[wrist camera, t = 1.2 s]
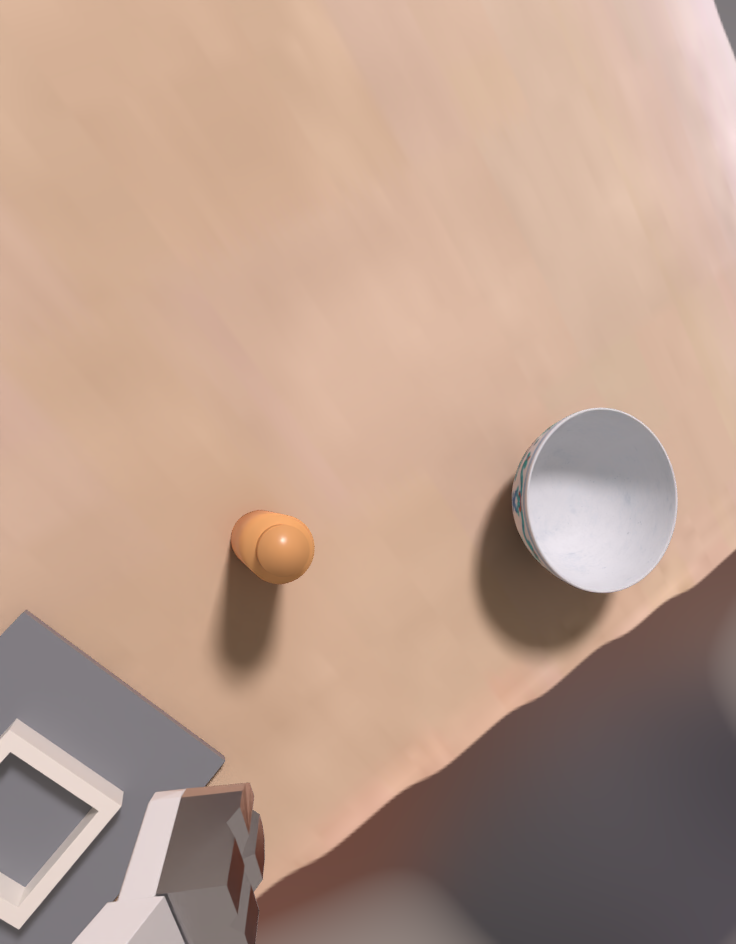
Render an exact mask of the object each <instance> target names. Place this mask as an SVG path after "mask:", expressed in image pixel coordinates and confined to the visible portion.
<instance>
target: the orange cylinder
mask: <svg viewBox="0 0 736 944" xmlns="http://www.w3.org/2000/svg"><path fill="white" fill-rule="evenodd" d="M231 545H232V549H233V551H234V553H235V555H236V556H237V557H238V558H239V559H240V560H241V561H242V562H243V563H244V564H245V565H246V566H247V567H248V568H249V569H250V570H251V571H252V572H254V573H255V574H256V575H257V576H258V577H259V578H261V579H262V580H264V581H266V582H269V583H273V584H285V583H289V582H292V581H294V580H296V579H298V578H299V577H300V576H302V575H303V574H304V573H305V572H306V571H307V569H308V568H309V566H310V564H311V562H312V560H313V556H314V540H313V537H312V534H311V532H310V531H309V529H308V528H307V526H306V525H305V524H304V523H303V522H301V521H300V520H298V519H297V518H294V517H292V516H288V515H283V514H278V513H274V512H269V511H263V510H257V511H252V512H249V513H247V514H245V515H244V516H242V517H241V518H240V519H239V520H238V521H237V522H236V524H235V526H234V528H233V530H232V533H231Z"/></svg>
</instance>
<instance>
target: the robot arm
mask: <svg viewBox="0 0 736 944" xmlns="http://www.w3.org/2000/svg"><path fill="white" fill-rule="evenodd" d="M253 802H254V794H253V791H252V788H251V785H250V783H240V784H229V785H219V786H208V787H198V788H187V789H178V790H170V791H161V792H155V794H154V795H153V797H152V798H151V800H150V801H149V803H148V806H147V809H146V812H145V815H144V818H143V821H142V825H141V828H140V831H139V834H138V837H137V840H136V843H135V846H134V850H133V853H132V856H131V859H130V862H129V865H128V868H127V871H126V875H125V878H124V881H123V884H122V887H121V890H120V893H119V896H118V900H117V901H114V902H108V903H106V905H105V906H104V907H103V908H102V909H101V910H100V912H99V913H98V914H97V915H96V916H95V917H94V918H93V920H92V921H91V922H90V923H89V924H88V925H87V926H86V928H85V929H84V930H83V931H82V932H81V933H80V935H79V936H78V937H77V938H76V939H75V940H74V941H73V943H72V944H255V942H256V933H257V925H258V916H259V908H258V905H257V902H256V899H255V896H254V891H255V890H256V888H257V887H258V885H259V884H260V882H261V881H262V880H263V871H264V860H265V850H264V832H263V825H262V821H261V818H260V814H258V813H257V812H255V811H254V810H252V809H253Z"/></svg>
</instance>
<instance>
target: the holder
mask: <svg viewBox="0 0 736 944" xmlns="http://www.w3.org/2000/svg"><path fill="white" fill-rule="evenodd" d="M224 762H225V757H224V756H223V755H222V754H221V753H219V752H218V751H217V750H215V749H214V748H212V747H211V746H210V745H208V744H207V743H206V742H204V741H203V740H202V739H200V738H199V737H198V736H196V735H195V734H194V733H192V732H191V731H190V730H188V729H187V728H185V727H184V726H183V725H181V724H180V723H179V722H177V721H176V720H175V719H173V718H172V717H171V716H169V715H168V714H167V713H165V712H164V711H163V710H161V709H160V708H158V707H157V706H156V705H154V704H153V703H152V702H150V701H149V700H148V699H146V698H145V697H144V696H142V695H141V694H140V693H138V692H137V691H136V690H134V689H133V688H131V687H130V686H129V685H127V684H126V683H125V682H123V681H122V680H121V679H119V678H118V677H117V676H115V675H114V674H113V673H111V672H110V671H109V670H107V669H106V668H104V667H103V666H102V665H100V664H99V663H98V662H96V661H95V660H94V659H92V658H91V657H90V656H88V655H87V654H86V653H84V652H83V651H82V650H80V649H79V648H77V647H76V646H75V645H73V644H72V643H71V642H69V641H68V640H67V639H65V638H64V637H63V636H61V635H60V634H59V633H57V632H56V631H55V630H53V629H52V628H50V627H49V626H48V625H46V624H45V623H44V622H42V621H41V620H40V619H38V618H37V617H36V616H34V615H33V614H32V613H30V612H29V611H28V610H25V611H24V612H23V613H22V614H21V615H20V616H19V617H18V618H17V619H16V620H15V621H14V622H13V623H12V624H11V625H10V627H9V628H8V629H7V630H6V631H5V632H4V633H3V634H2V635H1V636H0V944H72V943H73V941H74V940H75V939H76V938H77V937H78V936H79V935H80V933H81V932H82V931H83V930H84V929H85V928H86V926H87V925H88V924H89V923H90V922H91V921H92V920H93V918H94V917H95V916H96V915H97V914H98V913H99V912H100V910H101V909H102V908H103V907H104V906H105V905H106V903H108V902H113V901H114V899H115V898H116V897H117V896H118V894H119V893H120V890H121V887H122V884H123V881H124V878H125V875H126V871H127V868H128V865H129V862H130V859H131V856H132V853H133V850H134V846H135V843H136V840H137V837H138V834H139V831H140V828H141V825H142V821H143V818H144V815H145V812H146V809H147V806H148V803H149V801H150V800H151V798H152V797H153V795H154V794H155V792H161V791H170V790H178V789H187V788H198V787H205V786H206V784H207V783H208V782H209V781H210V779H211V778H212V777H213V776H214V774H215V773H216V772H217V771H218V769H219V768H220V767H221V766H222V764H223V763H224Z"/></svg>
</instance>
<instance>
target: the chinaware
mask: <svg viewBox="0 0 736 944" xmlns="http://www.w3.org/2000/svg"><path fill="white" fill-rule="evenodd" d="M512 510H513V516H514V520H515V524H516V527H517V530H518V532H519V534H520V537H521V538H522V540H523V542H524V544H525V545H526V547H527V549H528V550H529V551H530V553H531V554H532V555H533V556H534V558H535V559H536V560H537V561H538V562H539V563H540V564H541V565H542V566H543V567H544V568H546V569H547V570H548V571H549V572H551V573H552V574H553V575H555V576H556V577H558V578H559V579H561V580H562V581H564V582H566V583H568V584H570V585H572V586H574V587H576V588H579V589H581V590H585V591H588V592H594V593H611V592H616V591H620V590H623V589H626V588H628V587H630V586H632V585H634V584H636V583H638V582H639V581H640V580H642V579H643V578H644V577H646V576H647V575H648V574H649V573H650V572H651V571H652V570H653V569H654V568H655V566H656V565H657V564H658V562H659V561H660V560H661V558H662V556H663V555H664V553H665V551H666V549H667V547H668V545H669V543H670V540H671V537H672V534H673V531H674V527H675V522H676V516H677V486H676V480H675V476H674V472H673V468H672V465H671V462H670V460H669V457H668V455H667V453H666V451H665V449H664V447H663V446H662V444H661V443H660V441H659V440H658V438H657V437H656V436H655V435H654V433H653V432H652V431H651V430H650V429H649V428H648V427H647V426H646V425H645V424H643V423H642V422H641V421H639V420H638V419H636V418H635V417H633V416H631V415H629V414H627V413H625V412H622V411H619V410H615V409H610V408H591V409H586V410H582V411H579V412H577V413H574V414H572V415H570V416H568V417H566V418H564V419H562V420H560V421H558V422H557V423H555V424H554V425H552V426H551V427H550V428H548V429H547V430H546V431H544V432H543V433H542V434H541V435H540V436H539V437H538V438H537V439H536V440H535V441H534V442H533V443H532V445H531V446H530V447H529V448H528V450H527V451H526V453H525V454H524V456H523V458H522V460H521V462H520V464H519V466H518V469H517V471H516V474H515V478H514V482H513V488H512Z"/></svg>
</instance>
